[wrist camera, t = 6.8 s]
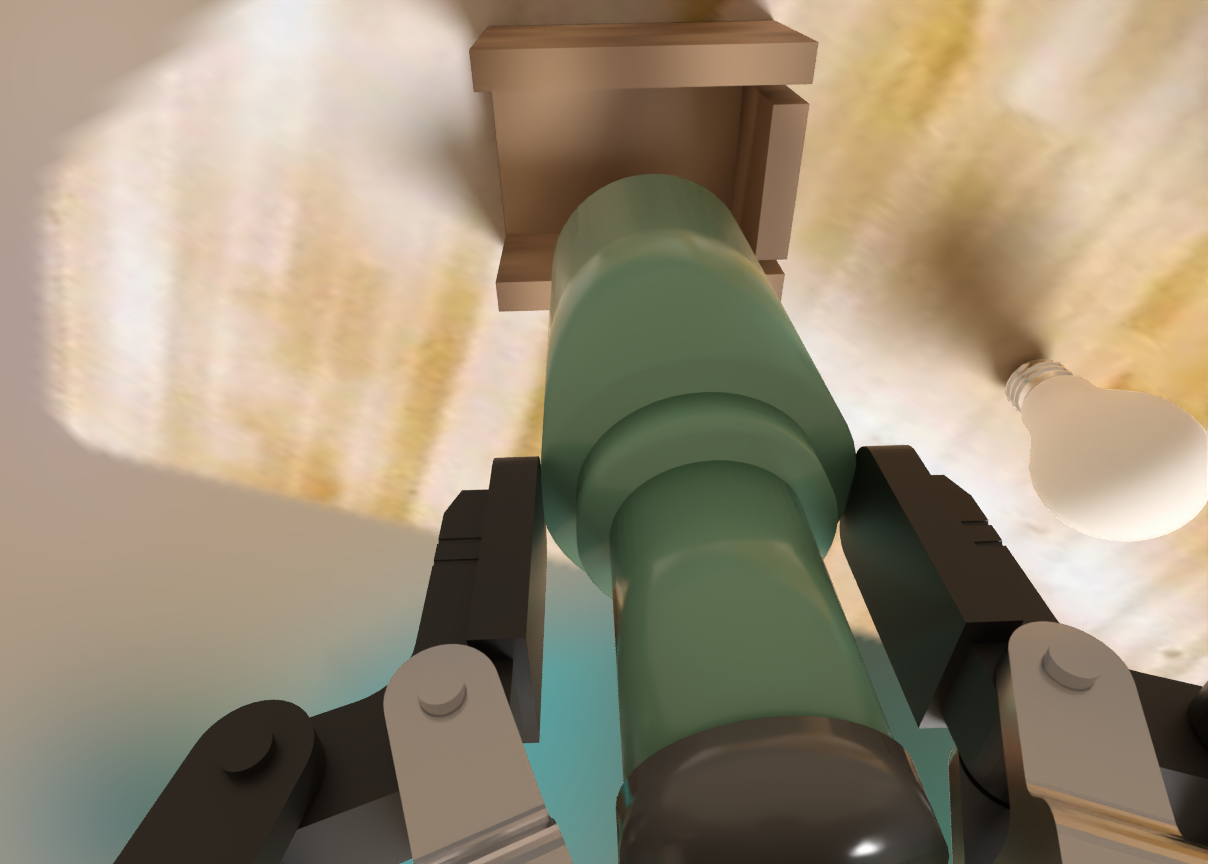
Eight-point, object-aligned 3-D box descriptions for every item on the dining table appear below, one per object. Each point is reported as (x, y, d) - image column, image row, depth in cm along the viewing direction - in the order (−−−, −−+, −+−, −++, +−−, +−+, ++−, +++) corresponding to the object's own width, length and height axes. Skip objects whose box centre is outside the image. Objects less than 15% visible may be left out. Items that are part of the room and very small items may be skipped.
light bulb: (956, 344, 36) (1082, 484, 27) (1094, 298, 35) (1274, 429, 26) (966, 440, 40) (1080, 590, 31) (1091, 401, 38) (1248, 547, 29)
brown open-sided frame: (774, 20, 27) (818, 42, 22) (749, 245, 32) (780, 303, 27) (487, 26, 27) (469, 50, 22) (510, 252, 32) (499, 311, 27)
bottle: (756, 171, 17) (1161, 723, 5) (736, 354, 20) (967, 965, 8) (546, 176, 17) (487, 752, 5) (557, 359, 20) (537, 985, 8)
